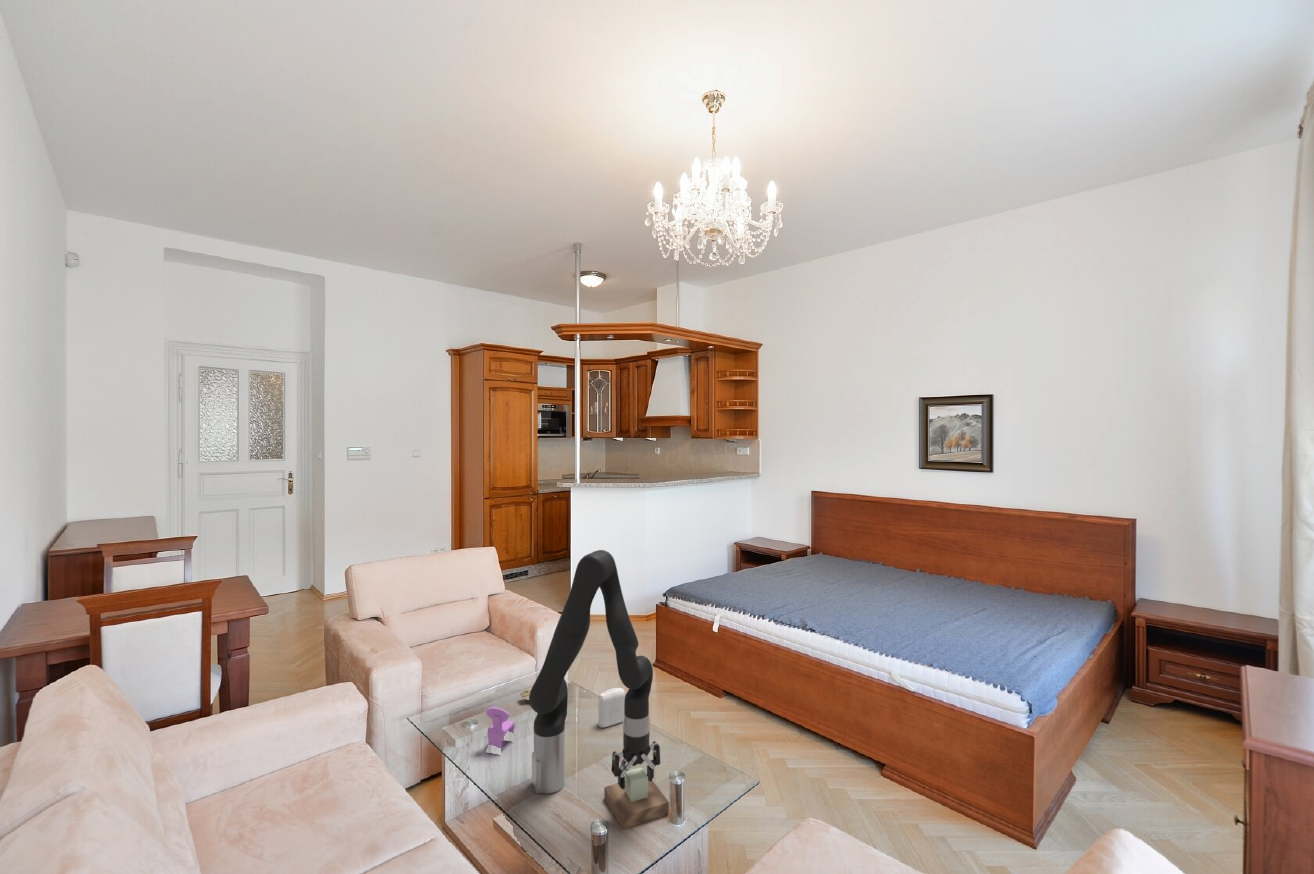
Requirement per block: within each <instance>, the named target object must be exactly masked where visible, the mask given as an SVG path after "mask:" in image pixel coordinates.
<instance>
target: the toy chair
mask: <svg viewBox="0 0 1314 874" xmlns="http://www.w3.org/2000/svg"><path fill="white" fill-rule="evenodd" d="M485 713H486V715H487V717H489V718H490V719H492V724H491V725H490V726H489V727H488V728H487V732H486V733H487V738H488V745H493V746H496V747H498V748H501V749H502V744H503V742H504V741H503V739H504V736H505V734H506V733H507V731H509V732H512V733H513V734H514V730H515V727H516V724H515V721H512V720H508V719H509V717H510V714H509V712H508V711H507V710H505V709H503V708H500V707H496V706H491V707H488V708H487V709H486V712H485Z"/></svg>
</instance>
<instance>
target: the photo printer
mask: <svg viewBox="0 0 1314 874" xmlns="http://www.w3.org/2000/svg"><path fill="white" fill-rule="evenodd" d="M625 695H626V691H625V689H623V688H622V687H621V688H620V687H616V688H615V687H614V688H609V689H607V690H606V691H605V690H604V691H603V692H601V694H599V695H598V710H597V711H598V715H597V717H598V720H597V721H598V722H597V723H598V726H599V727H600V728H601V729H602V728H603V729H604V728H607V727H611V726H615V725H618V724H620V723H623V720H624V700H625Z"/></svg>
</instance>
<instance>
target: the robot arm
mask: <svg viewBox="0 0 1314 874" xmlns="http://www.w3.org/2000/svg"><path fill="white" fill-rule="evenodd" d="M573 576H574V577H573V580H572V584H571V588H570V592H569V595H568V598H567V599H566V601H565V605H564V607H563V609H562V612H561V614H560V617H559V619H558V621H557V625H556V626H555V630H554V632H553V636H552V639H551V641H550V644H549V646H548V650H547V653H546V655H545V659H544V663H543V665H542V667H541V669H540V671H539V673H538V676H537V677H536V679H535V681H534V683H533V685H532V687H531V689H530V696H529V700H530V701H529V704H530V707H531V708H532V710H533V711H534V712H535V713H536V715H535V718H534V720H533V751H532V752H531V784H532V786H533V788H534V790H535V793H536V794H537V795H538V794H546V795H547V794H554V793H556V792H559V791H561V790H562V789H563V787H565V782H566V781H565V779H566V778H565V777H566V775H565V771H566V770H565V767H566V765H565V763H566V762H565V760H566V759H565V758H566V757H565V756H566V755H565V754H566V753H565V751H566V750H565V744H566V742H565V741H566V740H565V738H566V737H565V736H566V734H565V732H566V731H565V726H566V720H567V716H568V700H569V699H568V698H569V696H568V695H569V689H568V684H567V682H566V680H565V677H566V675H567V672H568V671H569V670H570V668H571V666H572V665H573V663H574V661H575V660H576V658H577V656H578V655H579V653H580V651H581V650H582V648H583V646H584V643H585V640H586V638H587V636H588V632H589V630H590V626H591V608H592V604H593V601H594V598H595V597H596V593H597V592H598V590H599V589H600V591H601V594H602V597H603V601H604V609H605V620H606V621H605V624H606V628H607V632H608V634H609V637H610V640H611V642H612V646H613V648H614V651H615V657H616V666H617V670H618V671H617V672H618V676H619V679H620V681H621V683H622V685H624V686H625V687H626V688H627V689H628V691H627V692H625V700H624V720H623V722H622V723H623V724H622V732H623V735H622V736H623V738H622V743H623V744H622V745H623V749H622V750H621V752H617V751H613V752H612V756H611V757H612V758H611V772H612V774H613V776H614V777H615V778H617V783H618V785H619V786H620V788H621V789H625V774H626V772H627V771H629V770H631V768H632V767H634V766H637V765H642V764H643V763H644V762H645V763H646V764H647V765H646V775H647V777H648V780H649V782H650V781H653V779H654V778H655V777H654V776H655V774H654V773H655V772H654V771H655V767H656V766H659V765H660V764H661V747H660V745H659V743H657V741H655V740H654V741H652V743H651V744H650V734H651V733H650V723H651V722H650V700H649V698H650V693H651V690H652V684H653V677H654V669H653V664H652V662H651V661H650V659H649V658H648V657H647V656H645V655H637V649H638V648H639V640H638V637H637V634H636V632H635V629H634V627H633V624H632V622H631V619H630V615H629V612H628V610H627V606H626V603H625V599H624V594H623V590H622V586H621V582H620V578H619V572H618V567H617V565H616V561H615V558H614V555H612V554H611V553H610V552H609V551H607V550H604V549H598V550H594V551H592V552H590V553H588V554H585V555H584V556H583V557H582V558H581V559H579V561H578V563H577V565H576V568H575V572H574V575H573ZM650 752H652V759H650V758H649V757H648V755H649V753H650ZM622 758H623V759H622Z"/></svg>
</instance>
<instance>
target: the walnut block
mask: <svg viewBox="0 0 1314 874" xmlns="http://www.w3.org/2000/svg"><path fill="white" fill-rule="evenodd" d="M603 788H604V789H603V791H604V793H603V794H604V795H603V796H604V797H603V798H604V800H605V802H606V804H607V805H608V807H609V809H610V811H611V812H612V814H613V816H615V819H616V820H617V822H618V824H620V827H621V828H622V830H625V829H628V828H632V827H634V826H637V825H640V824H643V823H646V822H649V821H652V820H655V819H659V818H660V817H663V816H666V814H667V815H669V814H670V802H669V800H668V799H667V797H666V796H665V794H663V792H662V791H661V790H660V789H659V787H658V786H657V784H656V782H654V780H652V781H650V782H649V780H648V798H644V799H640V800H637V801H633V802H631V801H630V799H629V797H628V795H627V794H626V792H625V789H621V788H620V786H619V785H618V782H617V783H614V784H611V785H607V786H604V787H603ZM668 813H669V814H668Z"/></svg>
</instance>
